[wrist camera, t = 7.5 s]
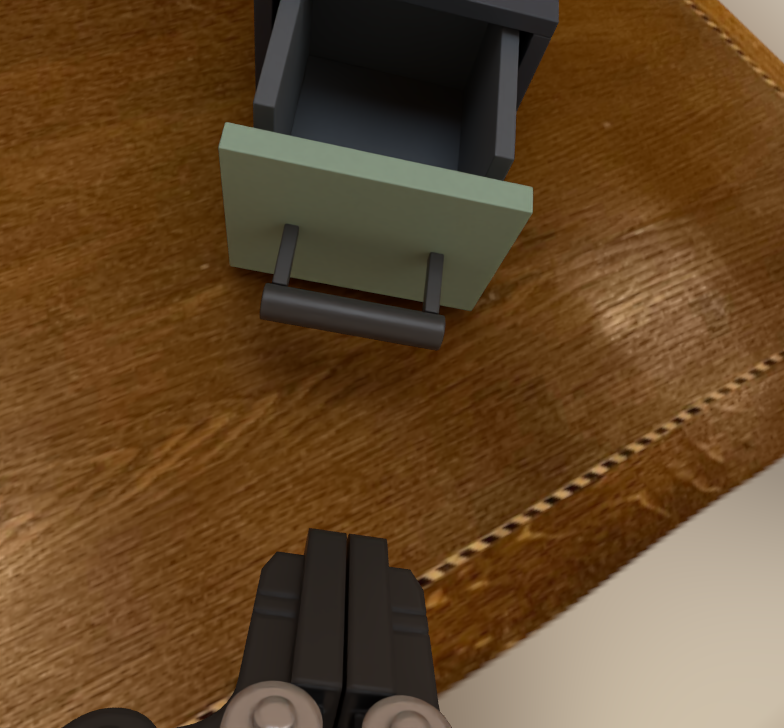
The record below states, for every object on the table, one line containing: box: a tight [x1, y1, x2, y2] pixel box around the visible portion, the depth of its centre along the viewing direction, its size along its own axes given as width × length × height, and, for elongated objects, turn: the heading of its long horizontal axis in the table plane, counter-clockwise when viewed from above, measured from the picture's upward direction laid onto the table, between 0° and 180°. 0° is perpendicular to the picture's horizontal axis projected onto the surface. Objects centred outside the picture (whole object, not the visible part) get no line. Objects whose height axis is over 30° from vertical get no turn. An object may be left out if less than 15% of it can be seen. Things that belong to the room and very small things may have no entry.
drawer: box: [218, 0, 533, 350], centre depth 28 cm, size 18×11×8 cm, turn 174°
